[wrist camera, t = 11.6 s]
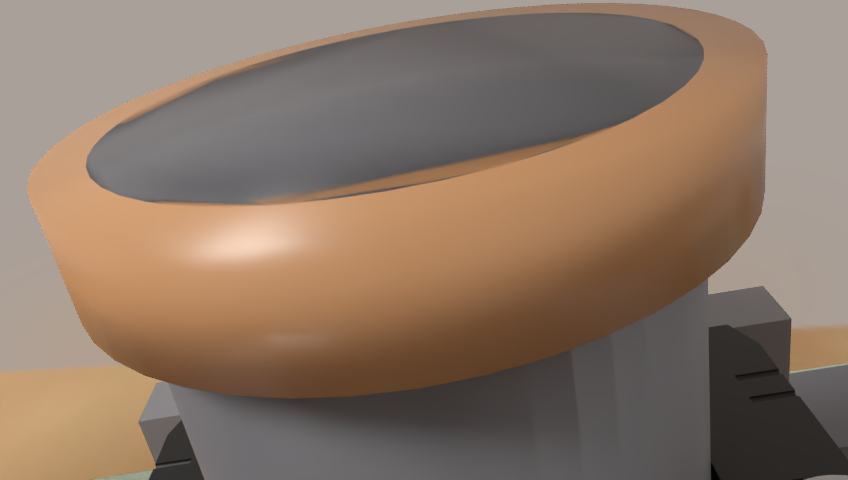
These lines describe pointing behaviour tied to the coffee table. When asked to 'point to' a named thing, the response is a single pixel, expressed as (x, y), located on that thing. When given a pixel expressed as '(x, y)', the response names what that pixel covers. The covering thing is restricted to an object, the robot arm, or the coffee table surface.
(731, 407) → the robot arm
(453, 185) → the chute tube
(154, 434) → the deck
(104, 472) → the coffee table surface
